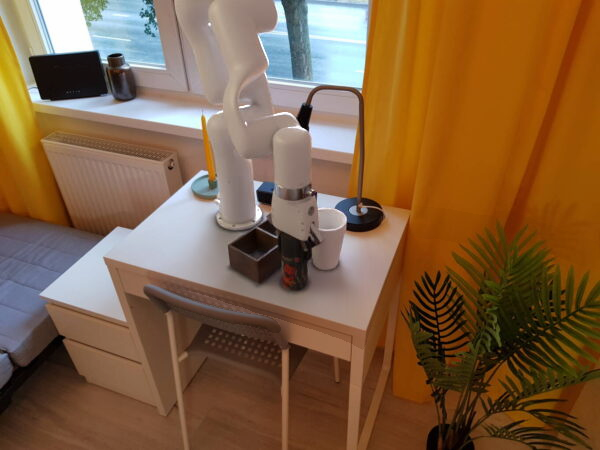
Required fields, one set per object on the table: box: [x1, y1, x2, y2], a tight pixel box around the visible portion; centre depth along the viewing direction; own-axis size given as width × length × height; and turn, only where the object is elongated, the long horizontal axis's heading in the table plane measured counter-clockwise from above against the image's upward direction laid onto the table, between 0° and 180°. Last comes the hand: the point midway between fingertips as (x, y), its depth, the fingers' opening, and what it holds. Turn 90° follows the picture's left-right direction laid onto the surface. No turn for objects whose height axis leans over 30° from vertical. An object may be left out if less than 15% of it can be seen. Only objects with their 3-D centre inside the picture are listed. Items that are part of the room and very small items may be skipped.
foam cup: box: [311, 207, 348, 271], centre depth 118 cm, size 10×9×13 cm
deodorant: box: [281, 231, 309, 292], centre depth 111 cm, size 6×6×15 cm
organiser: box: [227, 218, 282, 285], centre depth 122 cm, size 10×19×7 cm, turn 141°
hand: (294, 254), depth 111 cm, fingers closed on deodorant, 5 cm apart
